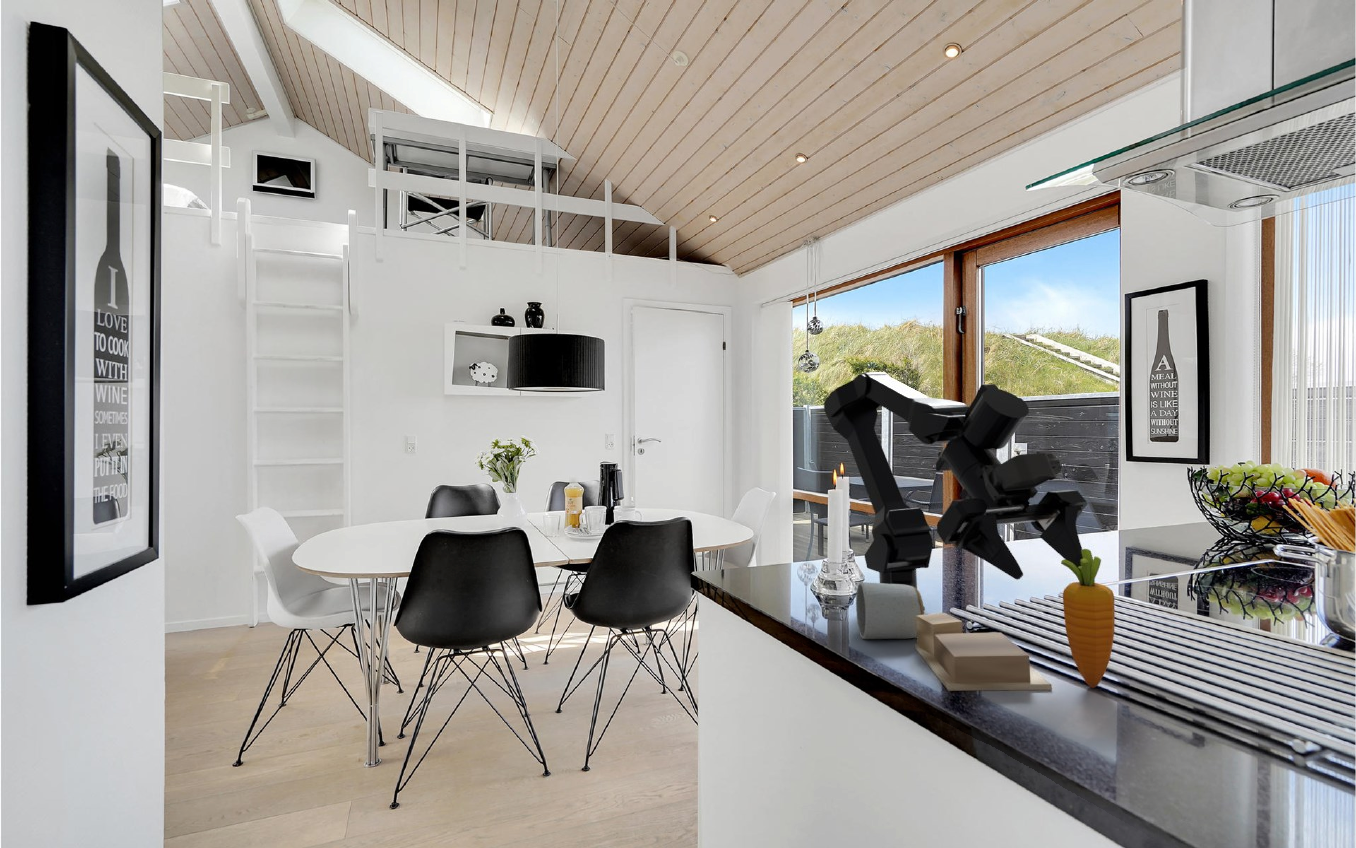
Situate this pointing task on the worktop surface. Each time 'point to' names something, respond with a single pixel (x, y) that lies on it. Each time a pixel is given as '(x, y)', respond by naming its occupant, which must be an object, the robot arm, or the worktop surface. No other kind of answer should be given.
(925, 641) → the oak cube
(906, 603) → the grey cylinder on side
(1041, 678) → the birch board
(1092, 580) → the carrot
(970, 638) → the light brown square block
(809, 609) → the worktop surface
